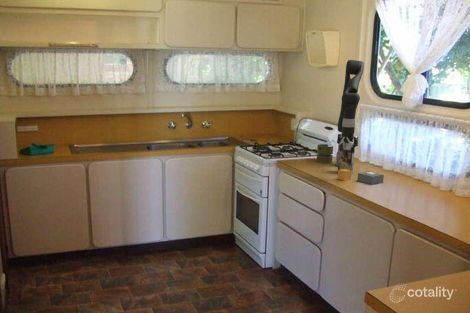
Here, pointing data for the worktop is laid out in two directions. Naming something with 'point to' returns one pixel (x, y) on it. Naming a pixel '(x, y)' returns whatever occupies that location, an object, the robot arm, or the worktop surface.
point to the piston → (324, 153)
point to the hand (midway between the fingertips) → (346, 152)
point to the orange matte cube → (344, 174)
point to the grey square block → (370, 178)
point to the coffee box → (346, 160)
